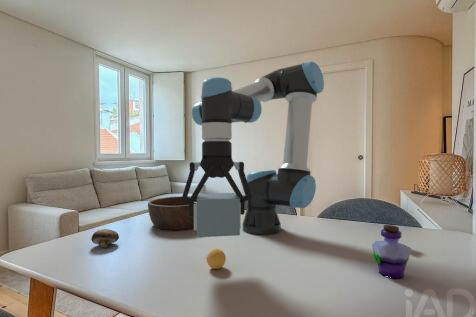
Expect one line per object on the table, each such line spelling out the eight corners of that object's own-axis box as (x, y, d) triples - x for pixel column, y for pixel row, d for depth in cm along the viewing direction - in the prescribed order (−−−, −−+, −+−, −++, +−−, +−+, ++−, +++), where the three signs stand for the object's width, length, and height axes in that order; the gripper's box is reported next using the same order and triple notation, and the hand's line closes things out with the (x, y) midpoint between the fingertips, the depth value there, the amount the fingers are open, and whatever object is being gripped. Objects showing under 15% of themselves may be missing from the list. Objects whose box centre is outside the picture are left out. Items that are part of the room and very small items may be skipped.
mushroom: (105, 242, 82) (106, 223, 85) (84, 250, 83) (86, 231, 87) (123, 247, 88) (123, 229, 92) (104, 255, 90) (105, 237, 93)
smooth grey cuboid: (234, 224, 74) (233, 192, 74) (240, 235, 64) (239, 198, 64) (196, 226, 73) (196, 193, 73) (196, 237, 63) (196, 199, 63)
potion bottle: (363, 270, 68) (363, 223, 68) (387, 264, 72) (387, 219, 72) (395, 285, 60) (395, 232, 60) (420, 278, 64) (420, 228, 64)
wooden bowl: (203, 232, 102) (203, 206, 102) (138, 233, 103) (138, 206, 103) (211, 217, 127) (210, 195, 127) (158, 217, 128) (158, 196, 128)
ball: (226, 265, 67) (225, 271, 71) (226, 245, 70) (224, 252, 74) (206, 265, 66) (206, 271, 70) (206, 245, 70) (206, 252, 73)
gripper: (257, 141, 73) (257, 222, 74) (172, 141, 70) (172, 226, 70) (264, 140, 66) (264, 230, 66) (169, 139, 63) (169, 234, 63)
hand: (217, 228), depth 68 cm, fingers closed on smooth grey cuboid, 10 cm apart
